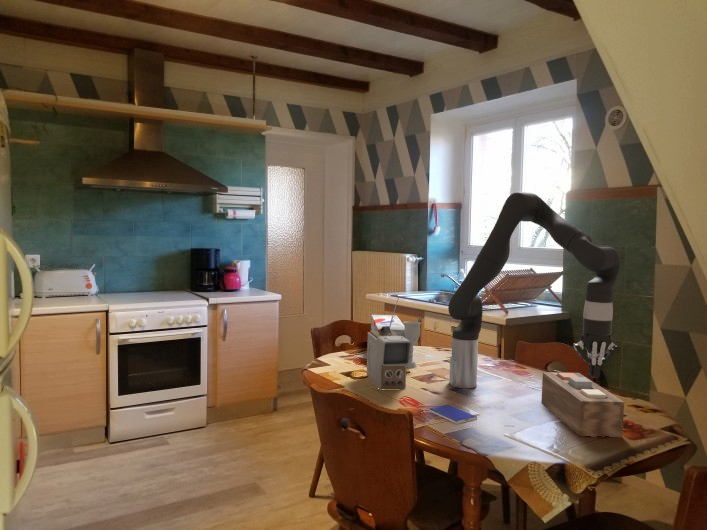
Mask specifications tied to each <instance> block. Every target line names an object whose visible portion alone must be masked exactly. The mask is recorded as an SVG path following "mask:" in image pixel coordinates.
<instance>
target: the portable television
mask: <svg viewBox="0 0 707 530" xmlns="http://www.w3.org/2000/svg"><path fill="white" fill-rule="evenodd" d="M399 299H400V297H397V300H396V304H395V307H394V310H393V312H392V315H393V316H394V315H395V312H396V308H397V304H398V301H399ZM393 316H392V319H391V323H392V320H393ZM391 323H390V326H391ZM390 326H383V327H382V328H381V329H378V331H371V330H370V331H369V332H368V331H367V346H366V347H367V352H366V377H367V376H368V377H367V378H368V379H369V381H371V382H373V383H374V384H373V383H372V384H373V385H374V387H375V388H376V389H377V388H379V389H400V390H405V389H406V386H407V368H406V366H407V365H409V364H410V358H411V348H412V343H411V342H410V341H409V340H407V339H406V338H404V337H403V336H400V334H399V335H398V334H396V333H395V332H393V331H392V330H390ZM379 389H378V390H379Z"/></svg>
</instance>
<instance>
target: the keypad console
mask: <svg viewBox="0 0 707 530" xmlns="http://www.w3.org/2000/svg"><path fill="white" fill-rule="evenodd" d="M558 373H559V372H556V371H555V372H552V371H549V372H547V371H546V372H545V371H543V372H542V378H541V379H542V380H541V382H542V384H541V401H540V402H541V403H542V405H544V406H545V407H546V408H547V409H548V410H550V411H551V413H553V414H554V415H555V416H556V417H557V418H558V419H560V421H561V422H562V423H564V424H565V425H566V426H567V427H568V428H569V429H570V430H571V431H572V432H574V433H575V434H576V435H577V436H578V437H579V436H591V437H590V438H598V437H597V436H602V437H601V438H606V437H605V436H609V437H608V438H623V434H624V433H623V429H624V418H625V416H624V414H625V401H623V400H622V399H621V398H619V397H618V396H616V395H614V394H612V393H611V392H610V391H608V390H606V389H605V388H604V387H602V386H600V385H599V384H597V383H595V382H594V381H592V380H591V379H589V378H588V377H586V376H584V375H583V374H581V373H580V372H573V373H574V374H575V375H577V376H578V377H586V378H587V379H589V380H590V381H592V389H598V390H600V391H601V392H603V393H604V394H606V398H587V397H585V396H584V395H582V394H581V389H574V388H573V387H571V386H570V385H569V380H562V379H560V378H559V377H558V376H557V374H558Z"/></svg>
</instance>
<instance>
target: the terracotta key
mask: <svg viewBox="0 0 707 530" xmlns="http://www.w3.org/2000/svg"><path fill="white" fill-rule="evenodd" d="M557 373H558V374H557V376H558V377H559V378H560V379H562V380H569V377H578V376H577V375H575V374H574V373H575V372H557Z"/></svg>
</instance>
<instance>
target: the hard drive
mask: <svg viewBox="0 0 707 530" xmlns="http://www.w3.org/2000/svg"><path fill="white" fill-rule="evenodd" d="M428 412H429V413H432V414H434V415H436V416H438V417H441V418H443V419H445V420H448V421H450V422H452V423H454V424H456V425H459V424H461V423H466V422H471V421H475V420H478V416H477V415H475V414H472V413H469V412H467V411H466V410H463V409H460V408H458V407H456V406H453V405H451V404H449V403H448V404H443V405H438V406H433V407H429V409H428Z"/></svg>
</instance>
